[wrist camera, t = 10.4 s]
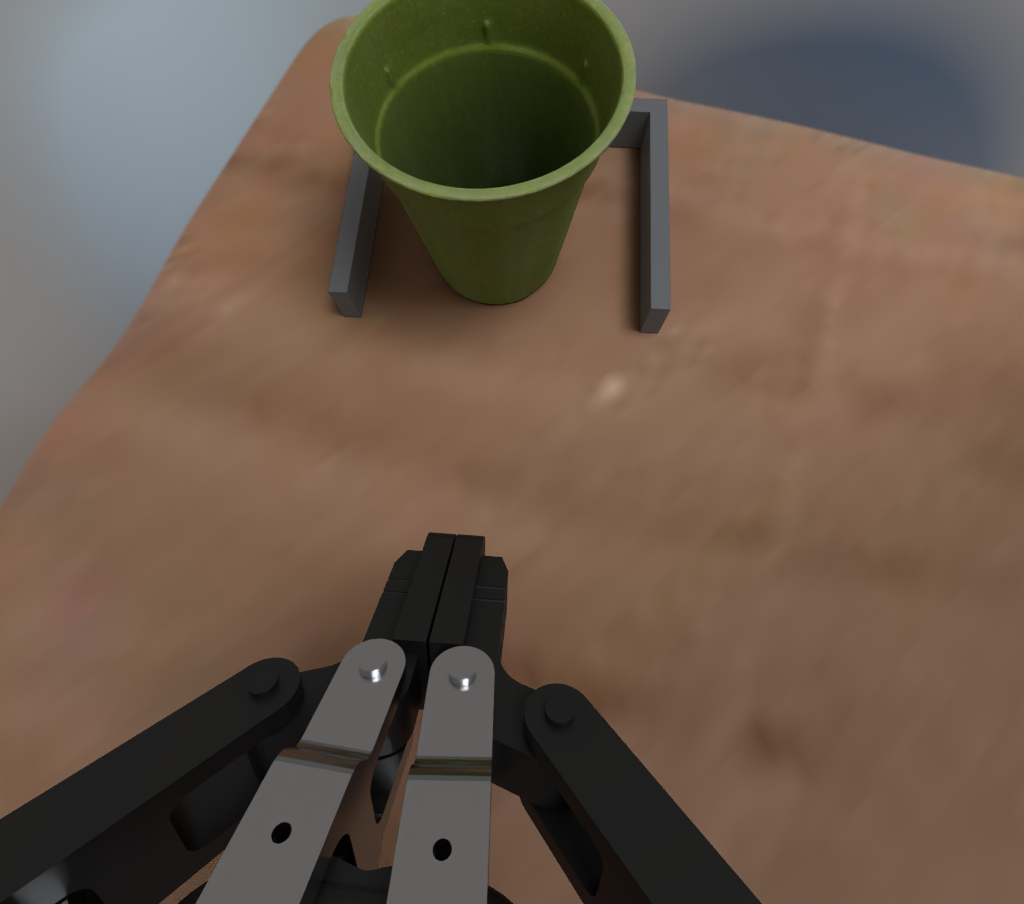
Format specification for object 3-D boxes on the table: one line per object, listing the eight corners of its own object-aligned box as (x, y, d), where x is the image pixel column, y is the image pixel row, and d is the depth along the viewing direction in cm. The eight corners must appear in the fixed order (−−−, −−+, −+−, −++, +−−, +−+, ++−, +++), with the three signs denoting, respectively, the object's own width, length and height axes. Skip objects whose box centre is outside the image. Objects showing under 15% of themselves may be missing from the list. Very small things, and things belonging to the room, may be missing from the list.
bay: (656, 135, 33) (667, 99, 30) (657, 333, 29) (670, 309, 26) (377, 124, 33) (366, 88, 31) (343, 316, 30) (328, 291, 27)
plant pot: (372, 208, 32) (294, 6, 21) (551, 151, 32) (566, -71, 22) (432, 373, 28) (377, 238, 18) (627, 305, 29) (689, 137, 19)
